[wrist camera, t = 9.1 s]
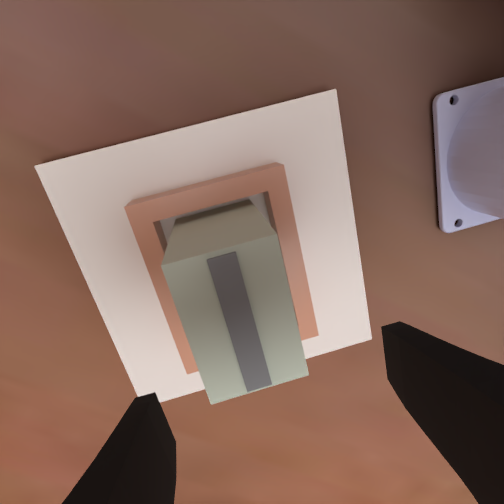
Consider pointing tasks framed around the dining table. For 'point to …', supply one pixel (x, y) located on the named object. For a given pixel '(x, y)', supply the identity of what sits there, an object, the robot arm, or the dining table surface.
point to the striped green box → (234, 300)
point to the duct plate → (206, 198)
